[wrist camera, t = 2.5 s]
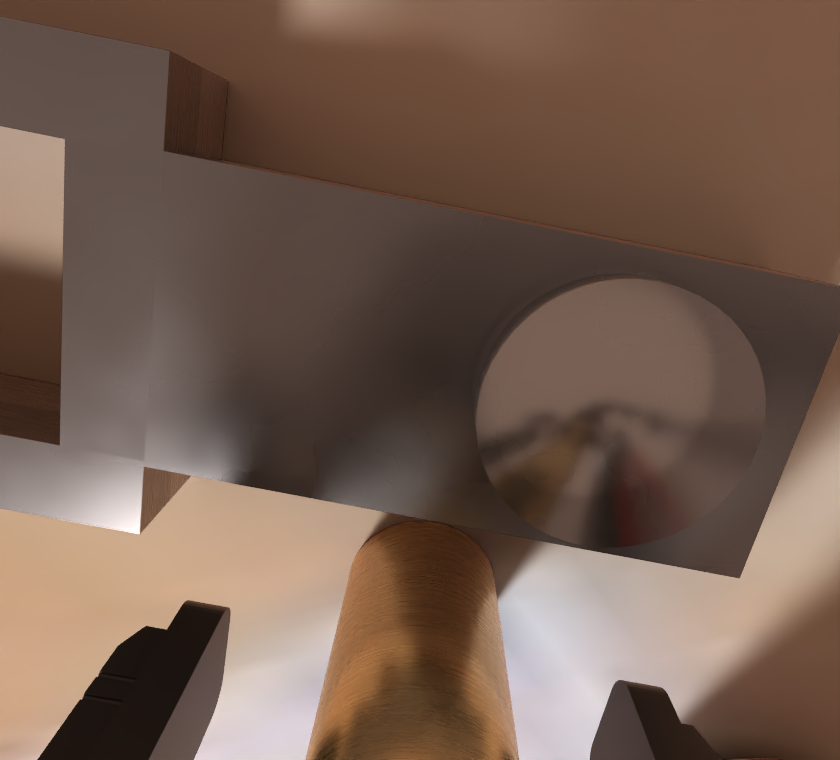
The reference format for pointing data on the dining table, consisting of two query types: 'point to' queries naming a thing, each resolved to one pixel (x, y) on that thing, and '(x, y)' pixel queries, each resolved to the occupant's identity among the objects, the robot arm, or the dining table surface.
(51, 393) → the link lower
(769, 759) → the soda can
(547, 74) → the dining table surface
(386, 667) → the pin
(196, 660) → the robot arm
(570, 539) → the link upper
